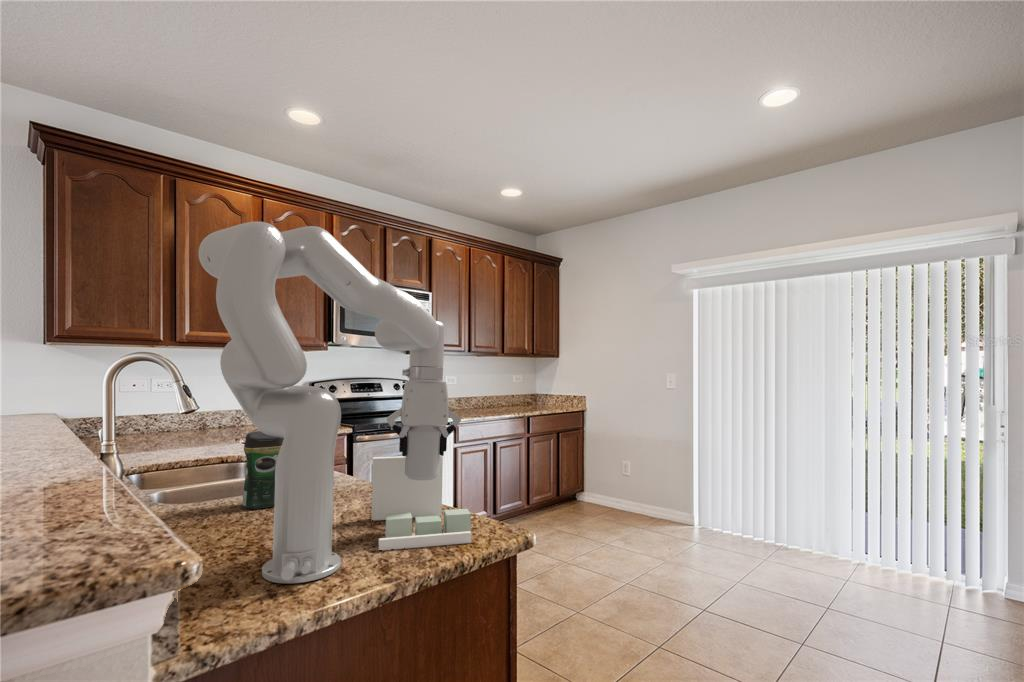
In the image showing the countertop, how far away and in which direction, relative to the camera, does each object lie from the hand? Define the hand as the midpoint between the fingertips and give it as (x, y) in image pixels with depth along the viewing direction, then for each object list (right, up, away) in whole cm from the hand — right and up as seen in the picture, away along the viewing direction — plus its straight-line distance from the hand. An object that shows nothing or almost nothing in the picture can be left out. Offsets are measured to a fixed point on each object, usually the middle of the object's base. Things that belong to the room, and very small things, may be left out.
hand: (422, 454), depth 114 cm
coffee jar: (-43, -16, +15) cm, 48 cm away
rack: (-1, -16, -2) cm, 16 cm away
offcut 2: (+8, -16, -6) cm, 19 cm away
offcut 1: (-3, -15, -10) cm, 18 cm away
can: (0, -5, 0) cm, 5 cm away
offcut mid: (+2, -16, -8) cm, 18 cm away
